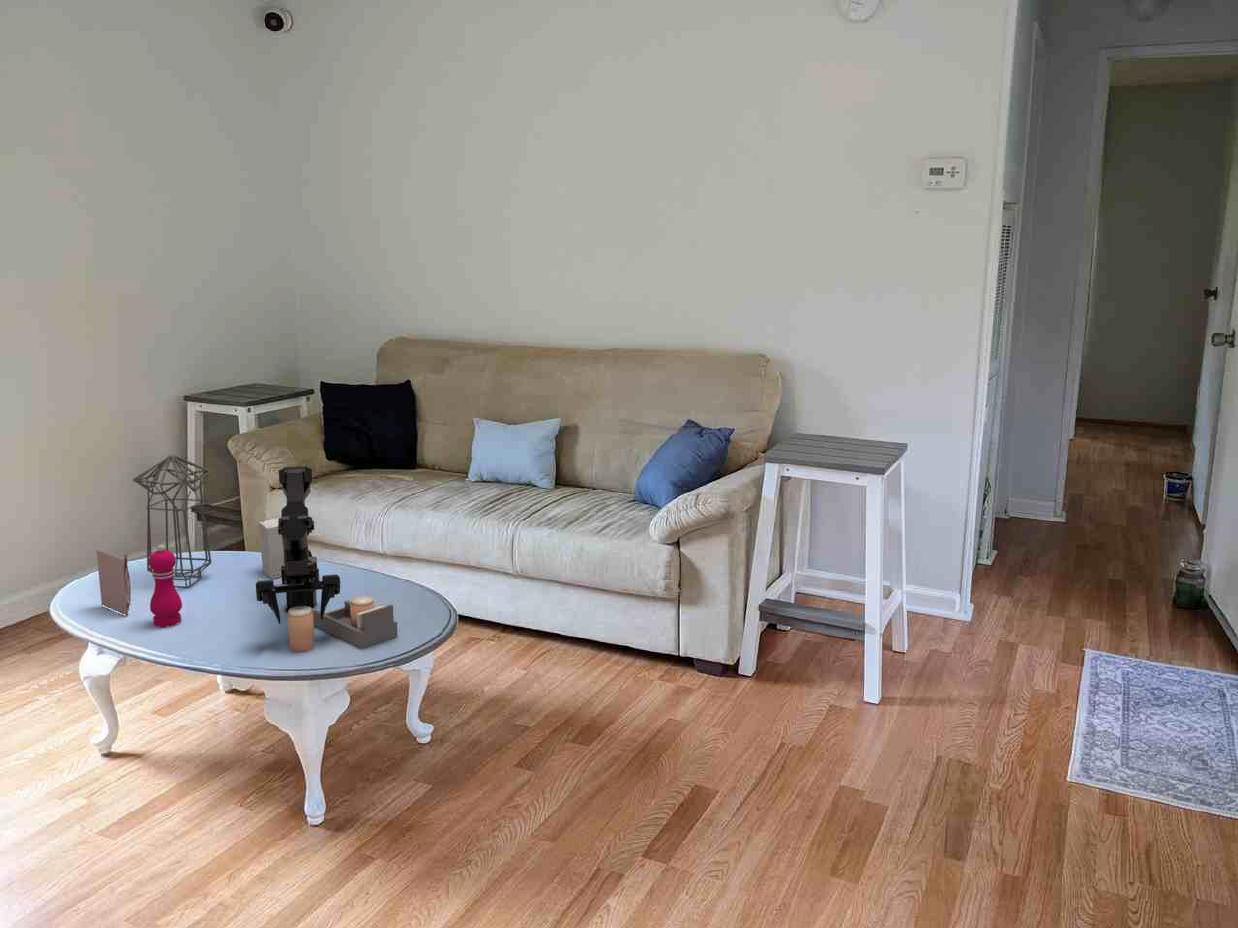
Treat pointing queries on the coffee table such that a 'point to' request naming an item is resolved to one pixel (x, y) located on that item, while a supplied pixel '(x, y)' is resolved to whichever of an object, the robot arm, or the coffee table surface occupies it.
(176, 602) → the pepper mill
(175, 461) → the geometric lantern
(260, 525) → the skincare box
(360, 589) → the coffee table surface
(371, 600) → the jar in lane
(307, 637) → the terracotta jar
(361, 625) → the panel
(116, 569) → the brown paper bag
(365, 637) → the tray
